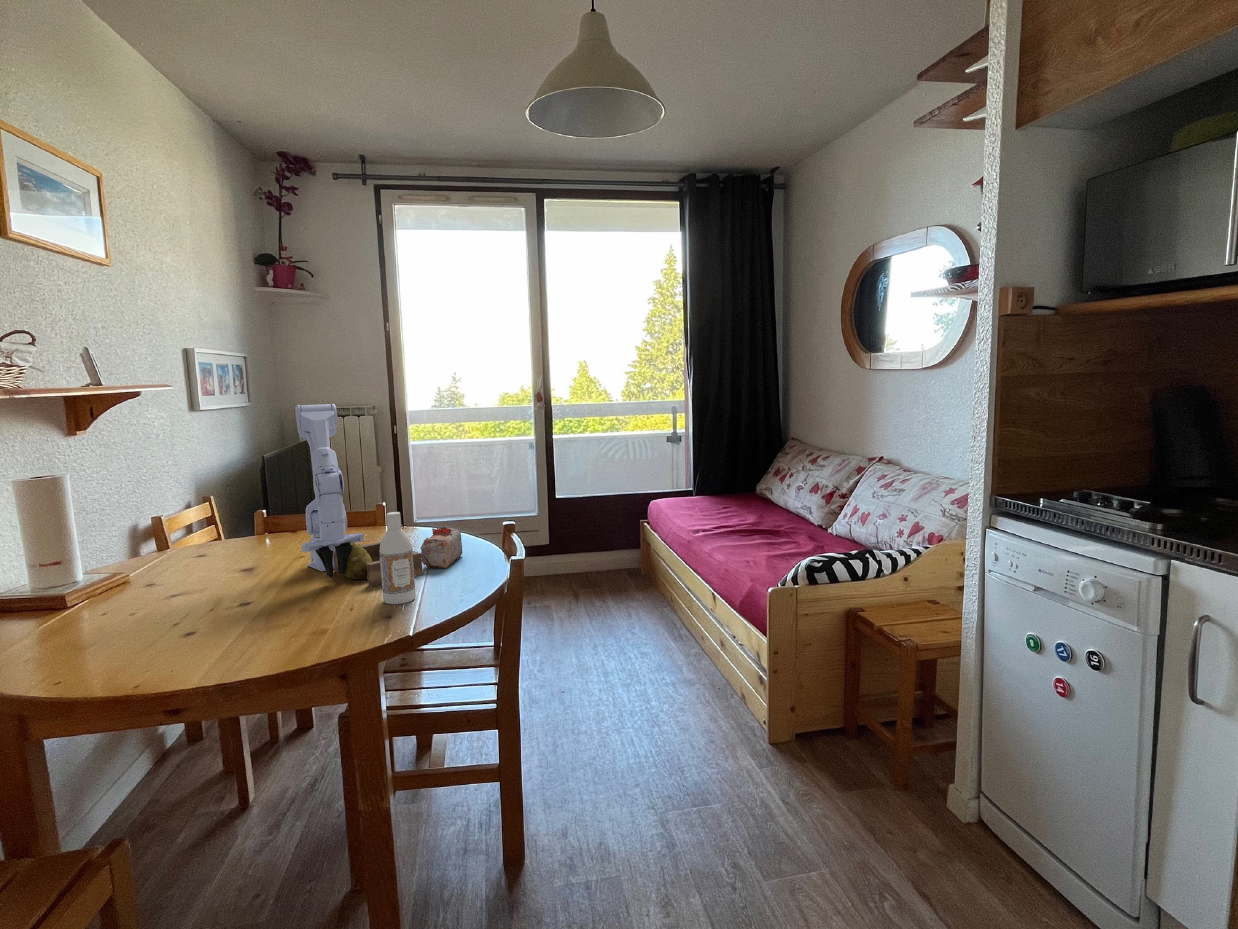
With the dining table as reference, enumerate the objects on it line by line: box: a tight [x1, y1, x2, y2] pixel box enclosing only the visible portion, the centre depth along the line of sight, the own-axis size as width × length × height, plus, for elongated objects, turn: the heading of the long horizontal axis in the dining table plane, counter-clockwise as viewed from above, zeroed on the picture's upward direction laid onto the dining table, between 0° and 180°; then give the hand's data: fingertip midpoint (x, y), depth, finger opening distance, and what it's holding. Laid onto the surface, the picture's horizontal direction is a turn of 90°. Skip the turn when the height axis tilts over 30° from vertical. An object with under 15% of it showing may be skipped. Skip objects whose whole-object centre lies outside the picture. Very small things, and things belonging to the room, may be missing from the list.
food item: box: [420, 526, 463, 569], centre depth 176 cm, size 14×8×10 cm, turn 176°
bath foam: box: [380, 511, 416, 605], centre depth 145 cm, size 7×7×20 cm
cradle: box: [333, 541, 423, 588], centre depth 168 cm, size 21×14×6 cm, turn 47°
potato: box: [336, 542, 373, 580], centre depth 165 cm, size 8×13×8 cm, turn 27°
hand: (336, 575), depth 161 cm, fingers open, 2 cm apart
